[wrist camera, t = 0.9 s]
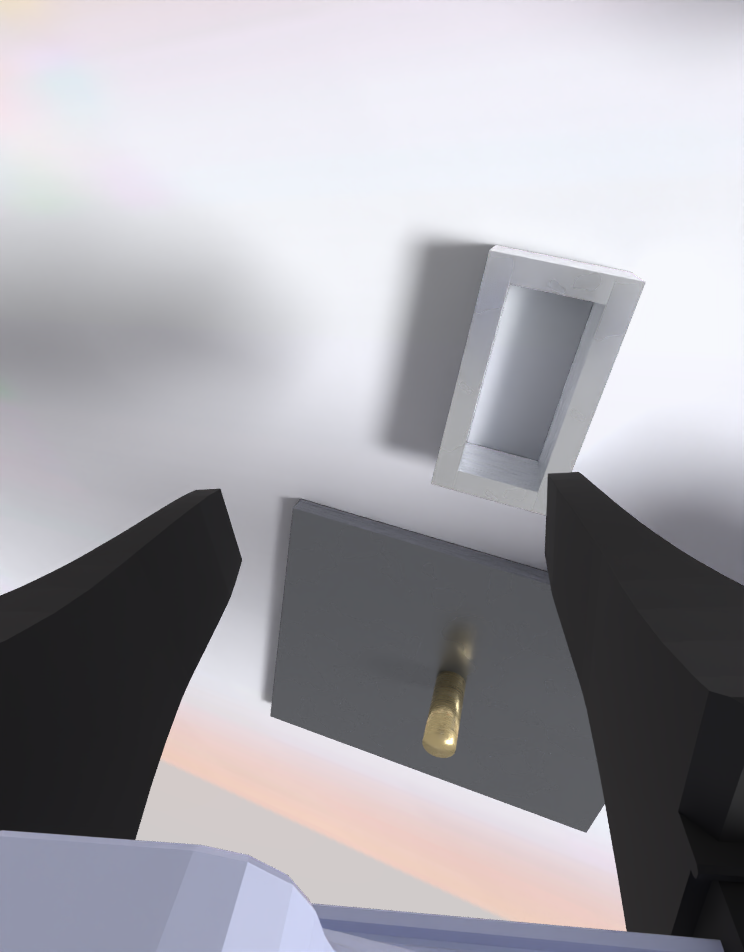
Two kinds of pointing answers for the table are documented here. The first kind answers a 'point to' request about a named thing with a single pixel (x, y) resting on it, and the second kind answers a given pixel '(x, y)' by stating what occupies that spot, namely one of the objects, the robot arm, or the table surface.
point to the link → (582, 391)
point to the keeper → (434, 663)
